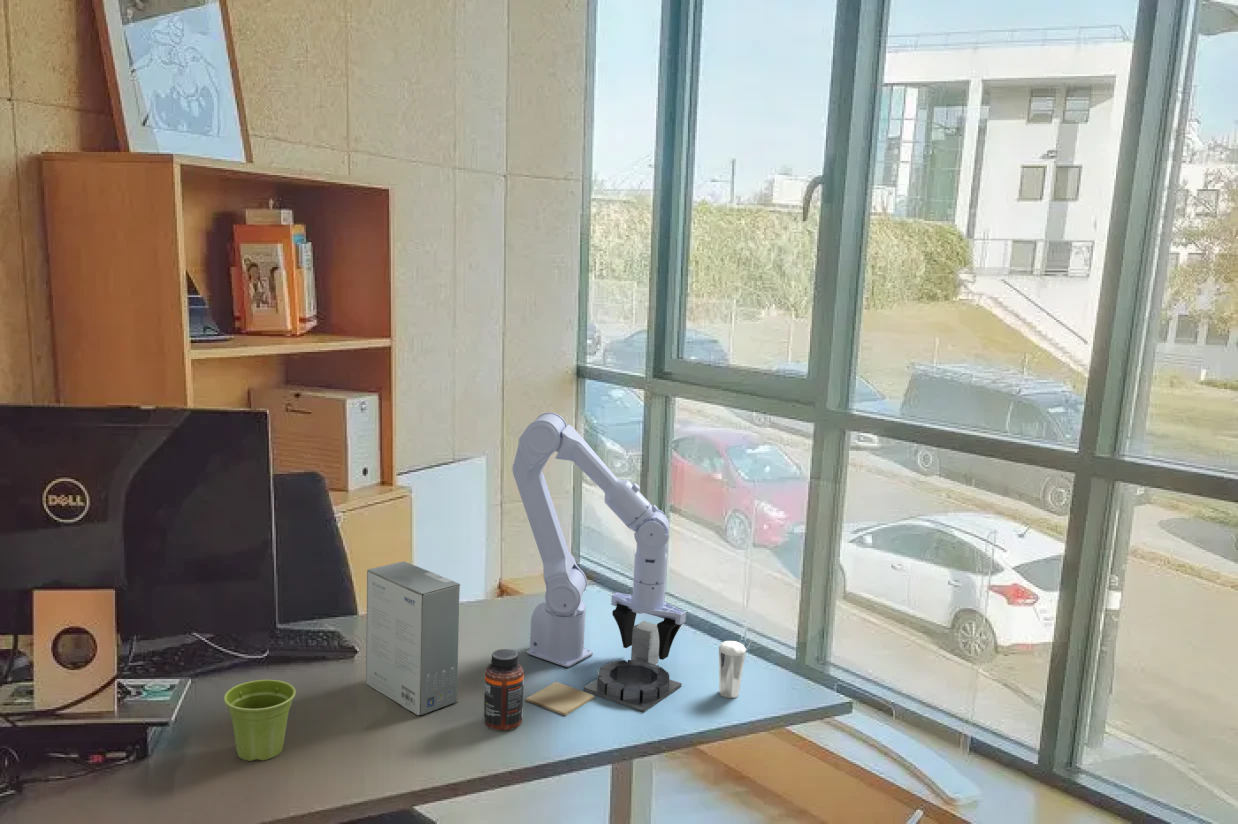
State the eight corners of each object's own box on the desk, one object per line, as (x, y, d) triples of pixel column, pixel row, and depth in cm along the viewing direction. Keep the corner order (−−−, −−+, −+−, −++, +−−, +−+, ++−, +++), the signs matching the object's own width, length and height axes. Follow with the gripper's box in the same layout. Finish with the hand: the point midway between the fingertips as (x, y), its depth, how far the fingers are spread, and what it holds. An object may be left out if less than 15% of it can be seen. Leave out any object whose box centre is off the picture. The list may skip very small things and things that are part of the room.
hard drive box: (458, 703, 153) (462, 584, 150) (419, 718, 147) (421, 594, 144) (402, 671, 163) (404, 559, 160) (363, 684, 158) (364, 568, 154)
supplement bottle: (528, 718, 149) (531, 650, 147) (512, 735, 143) (514, 664, 142) (494, 710, 151) (496, 643, 149) (476, 727, 145) (478, 657, 143)
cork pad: (525, 700, 155) (525, 698, 155) (556, 683, 161) (556, 681, 161) (565, 715, 150) (565, 713, 150) (594, 697, 157) (594, 695, 157)
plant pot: (265, 728, 142) (264, 673, 140) (309, 747, 137) (309, 690, 136) (210, 754, 134) (209, 696, 132) (255, 775, 129) (255, 716, 128)
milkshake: (746, 702, 158) (750, 645, 157) (714, 698, 159) (718, 641, 158) (748, 690, 163) (752, 635, 161) (716, 686, 164) (721, 631, 162)
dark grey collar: (583, 690, 160) (584, 676, 159) (622, 667, 169) (623, 654, 169) (643, 712, 153) (644, 698, 153) (681, 686, 163) (682, 673, 162)
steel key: (630, 663, 171) (632, 626, 170) (641, 657, 174) (643, 620, 173) (647, 669, 169) (649, 631, 168) (658, 662, 172) (660, 625, 171)
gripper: (603, 575, 170) (599, 648, 172) (673, 594, 162) (668, 670, 164) (625, 566, 176) (621, 636, 178) (693, 584, 168) (689, 657, 170)
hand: (645, 651), depth 171 cm, fingers open, 7 cm apart
